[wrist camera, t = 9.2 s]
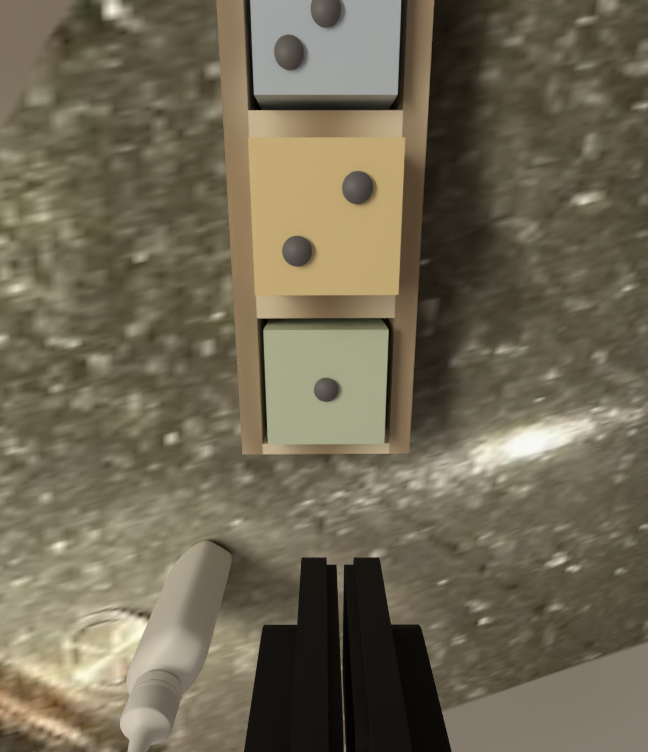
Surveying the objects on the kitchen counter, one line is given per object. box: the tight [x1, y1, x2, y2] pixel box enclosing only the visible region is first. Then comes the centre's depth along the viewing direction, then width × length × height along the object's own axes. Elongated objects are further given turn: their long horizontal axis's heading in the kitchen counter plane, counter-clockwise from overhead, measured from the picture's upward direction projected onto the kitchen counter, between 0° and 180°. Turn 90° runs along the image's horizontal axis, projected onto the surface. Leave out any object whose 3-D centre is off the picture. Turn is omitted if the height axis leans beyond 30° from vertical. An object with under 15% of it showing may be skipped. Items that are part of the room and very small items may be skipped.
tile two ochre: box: [248, 137, 405, 296], centre depth 21 cm, size 6×6×4 cm
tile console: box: [216, 0, 434, 454], centre depth 24 cm, size 9×24×4 cm, turn 0°
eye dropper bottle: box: [120, 540, 232, 752], centre depth 27 cm, size 4×6×12 cm
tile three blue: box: [250, 0, 401, 110], centre depth 21 cm, size 6×6×4 cm
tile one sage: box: [263, 318, 389, 445], centre depth 26 cm, size 6×6×4 cm
